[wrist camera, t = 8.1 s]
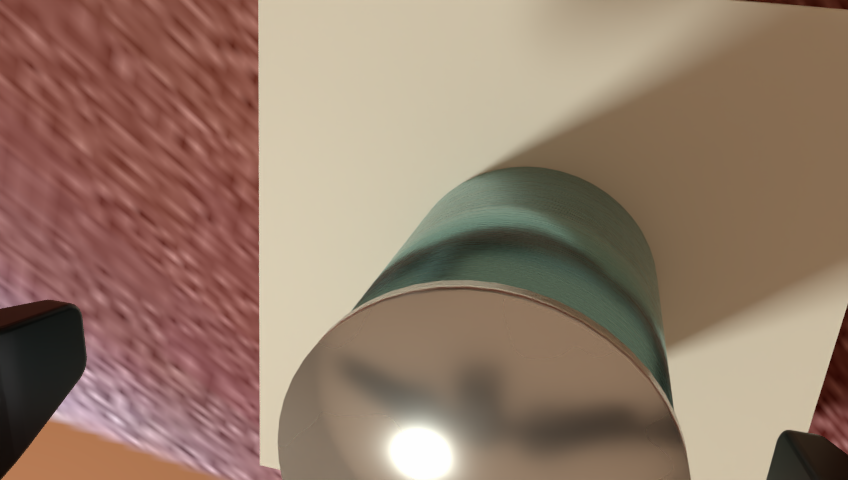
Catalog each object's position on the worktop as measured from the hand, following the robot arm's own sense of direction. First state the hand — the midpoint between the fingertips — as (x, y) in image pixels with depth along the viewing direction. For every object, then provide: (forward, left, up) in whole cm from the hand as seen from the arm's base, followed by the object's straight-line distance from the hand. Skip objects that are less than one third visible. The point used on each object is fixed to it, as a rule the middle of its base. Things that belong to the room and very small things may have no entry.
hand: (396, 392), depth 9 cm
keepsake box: (-1, +2, -13) cm, 13 cm away
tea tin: (-1, +2, -8) cm, 8 cm away
